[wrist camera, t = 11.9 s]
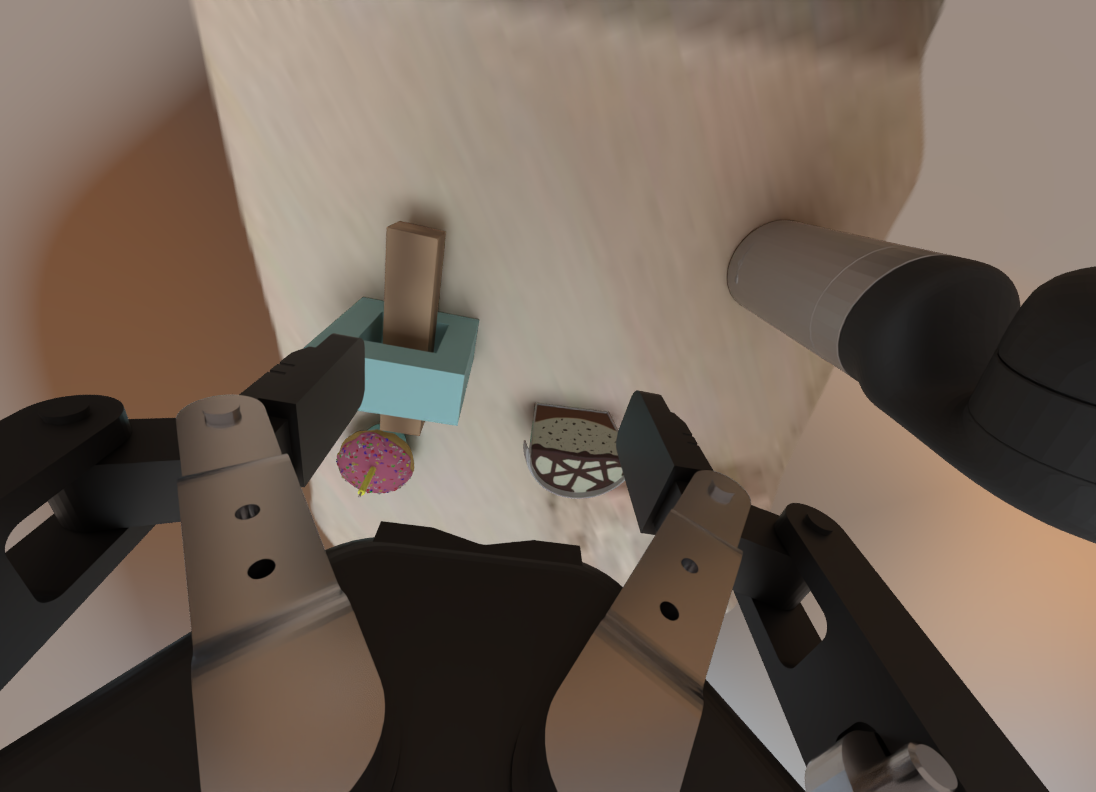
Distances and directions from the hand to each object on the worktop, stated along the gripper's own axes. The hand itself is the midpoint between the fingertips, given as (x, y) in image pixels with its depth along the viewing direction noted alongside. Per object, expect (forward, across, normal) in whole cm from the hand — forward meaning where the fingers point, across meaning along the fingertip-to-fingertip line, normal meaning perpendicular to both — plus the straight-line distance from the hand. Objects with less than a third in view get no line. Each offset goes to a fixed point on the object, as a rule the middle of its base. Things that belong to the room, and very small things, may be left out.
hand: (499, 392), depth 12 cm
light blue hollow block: (+31, +9, +12) cm, 34 cm away
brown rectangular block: (+28, +9, +11) cm, 31 cm away
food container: (+32, -10, +22) cm, 40 cm away
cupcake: (+31, +12, +28) cm, 43 cm away
